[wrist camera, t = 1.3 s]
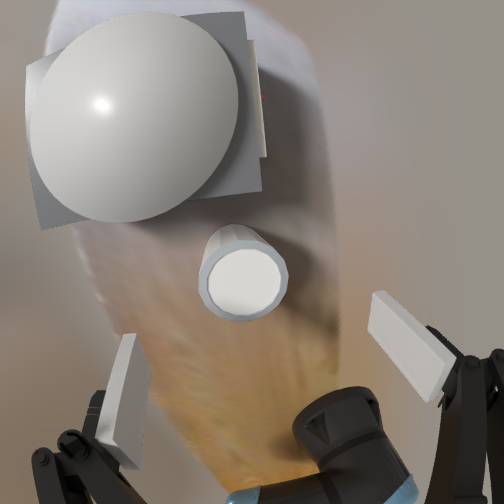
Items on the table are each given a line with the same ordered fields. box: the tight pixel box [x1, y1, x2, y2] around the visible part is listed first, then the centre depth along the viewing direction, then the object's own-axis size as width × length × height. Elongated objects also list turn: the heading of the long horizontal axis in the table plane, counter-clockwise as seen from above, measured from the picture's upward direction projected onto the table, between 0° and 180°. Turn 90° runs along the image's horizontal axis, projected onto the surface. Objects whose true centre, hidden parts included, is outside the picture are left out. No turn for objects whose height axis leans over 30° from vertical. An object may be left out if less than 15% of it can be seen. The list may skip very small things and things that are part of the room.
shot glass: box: [199, 224, 289, 321], centre depth 24 cm, size 7×7×7 cm
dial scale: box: [25, 12, 267, 230], centre depth 17 cm, size 13×16×10 cm
